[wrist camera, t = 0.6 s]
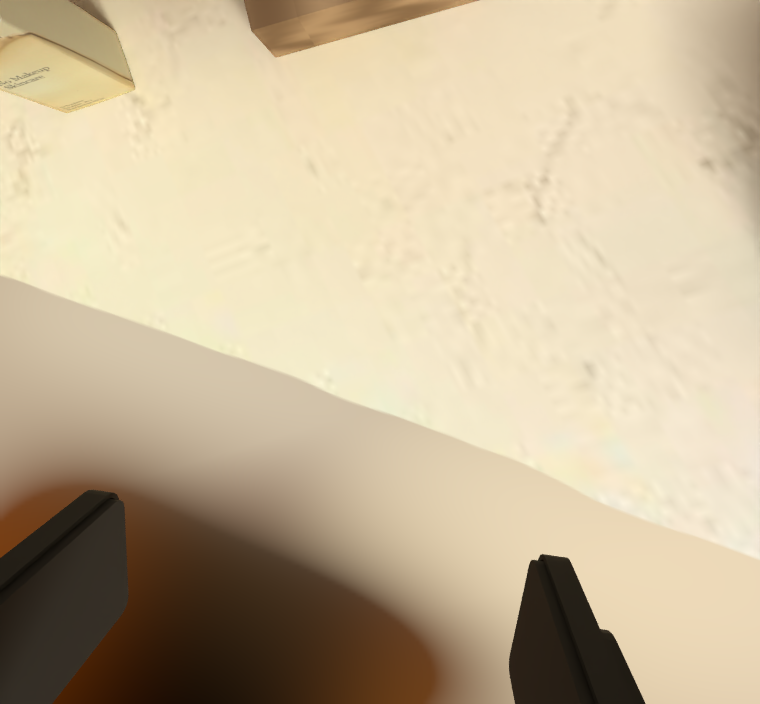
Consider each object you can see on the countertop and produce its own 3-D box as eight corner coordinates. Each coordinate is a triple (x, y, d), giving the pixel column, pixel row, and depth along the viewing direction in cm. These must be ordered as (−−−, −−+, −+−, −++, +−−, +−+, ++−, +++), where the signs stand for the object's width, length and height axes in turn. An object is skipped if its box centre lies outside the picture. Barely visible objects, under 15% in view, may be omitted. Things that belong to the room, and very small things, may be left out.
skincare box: (68, 115, 37) (-98, 64, 25) (44, 53, 36) (-141, -30, 24) (140, 89, 36) (2, 24, 24) (117, 24, 35) (-38, -76, 23)
